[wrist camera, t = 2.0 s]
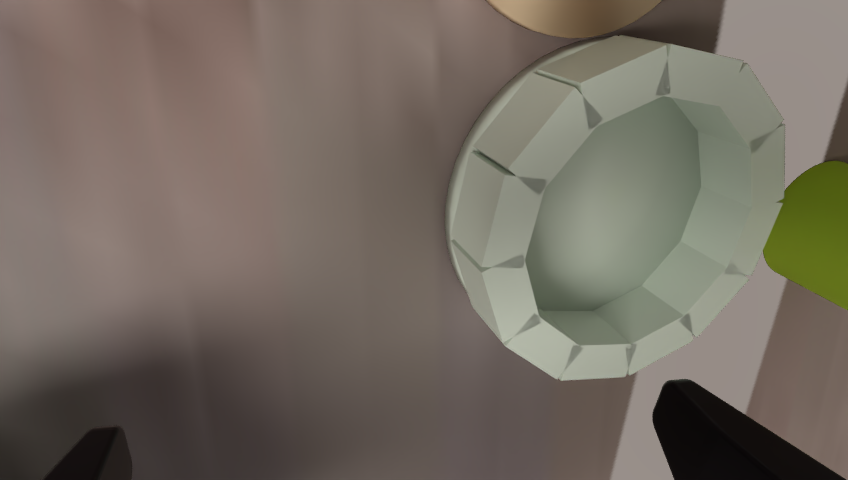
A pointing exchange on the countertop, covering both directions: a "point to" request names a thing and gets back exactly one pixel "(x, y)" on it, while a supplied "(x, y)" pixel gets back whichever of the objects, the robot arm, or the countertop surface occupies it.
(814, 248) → the soap dispenser
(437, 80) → the countertop surface
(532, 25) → the cork mat
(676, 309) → the bowl
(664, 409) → the robot arm
